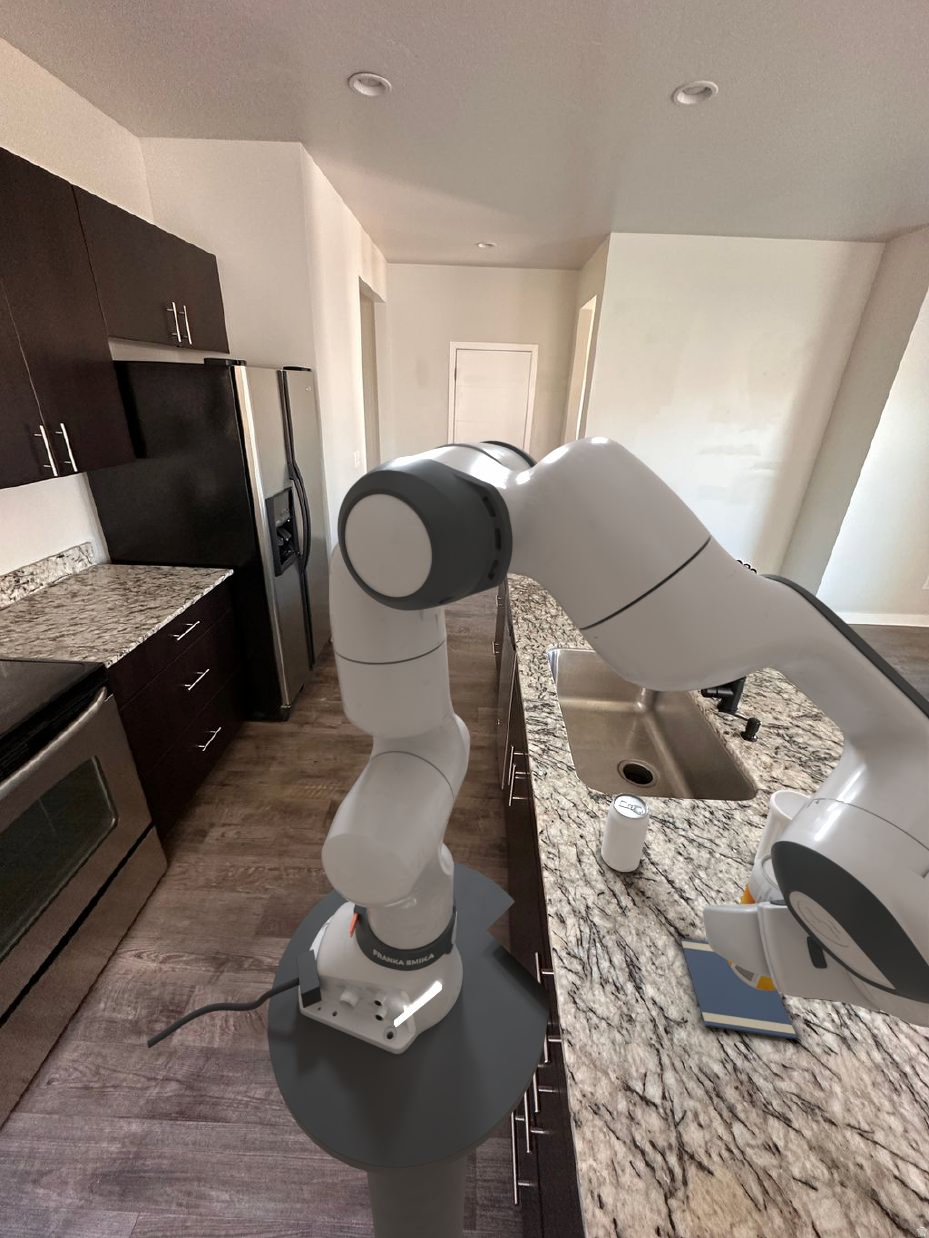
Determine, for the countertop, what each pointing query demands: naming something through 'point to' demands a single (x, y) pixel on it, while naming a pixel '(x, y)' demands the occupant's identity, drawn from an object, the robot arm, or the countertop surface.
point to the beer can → (756, 891)
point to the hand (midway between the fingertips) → (768, 912)
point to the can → (625, 832)
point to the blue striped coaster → (733, 996)
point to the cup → (779, 818)
